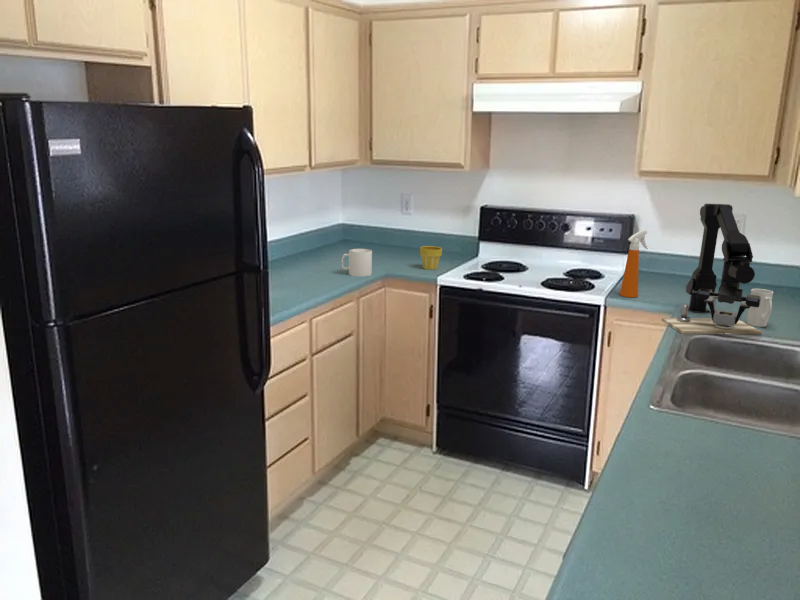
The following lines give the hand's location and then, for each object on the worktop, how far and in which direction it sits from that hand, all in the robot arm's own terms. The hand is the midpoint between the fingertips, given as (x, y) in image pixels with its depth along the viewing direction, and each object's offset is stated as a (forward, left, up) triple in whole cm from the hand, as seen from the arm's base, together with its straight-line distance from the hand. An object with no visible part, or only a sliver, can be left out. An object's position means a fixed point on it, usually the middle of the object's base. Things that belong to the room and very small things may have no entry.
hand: (724, 322), depth 220 cm
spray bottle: (-48, -12, -3) cm, 50 cm away
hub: (0, 0, -2) cm, 2 cm away
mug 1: (-83, -123, -3) cm, 149 cm away
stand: (-8, -10, -3) cm, 13 cm away
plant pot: (-97, -89, -3) cm, 132 cm away
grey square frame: (0, 0, 0) cm, 0 cm away
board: (-3, -3, -3) cm, 5 cm away
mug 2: (-6, +16, -3) cm, 17 cm away
